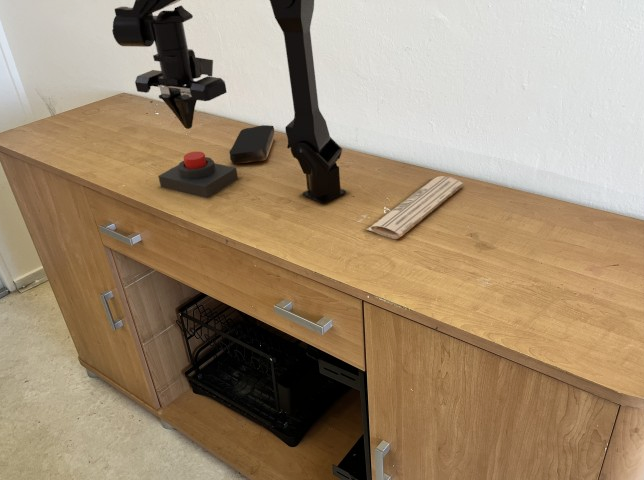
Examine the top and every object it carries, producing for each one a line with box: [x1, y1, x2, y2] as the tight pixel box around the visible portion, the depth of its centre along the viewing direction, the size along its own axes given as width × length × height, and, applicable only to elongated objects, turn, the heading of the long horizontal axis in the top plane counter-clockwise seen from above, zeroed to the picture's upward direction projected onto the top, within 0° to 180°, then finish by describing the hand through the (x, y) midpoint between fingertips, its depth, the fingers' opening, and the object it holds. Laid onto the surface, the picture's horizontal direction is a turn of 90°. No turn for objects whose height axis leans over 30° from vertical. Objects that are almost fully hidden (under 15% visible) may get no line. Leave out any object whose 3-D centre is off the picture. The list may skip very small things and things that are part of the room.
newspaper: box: [366, 175, 464, 240], centre depth 116 cm, size 24×7×2 cm, turn 143°
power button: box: [183, 151, 207, 169], centre depth 128 cm, size 4×4×2 cm
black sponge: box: [229, 124, 275, 165], centre depth 142 cm, size 16×8×4 cm, turn 177°
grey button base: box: [158, 156, 239, 199], centre depth 130 cm, size 13×10×4 cm
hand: (188, 128), depth 124 cm, fingers closed
